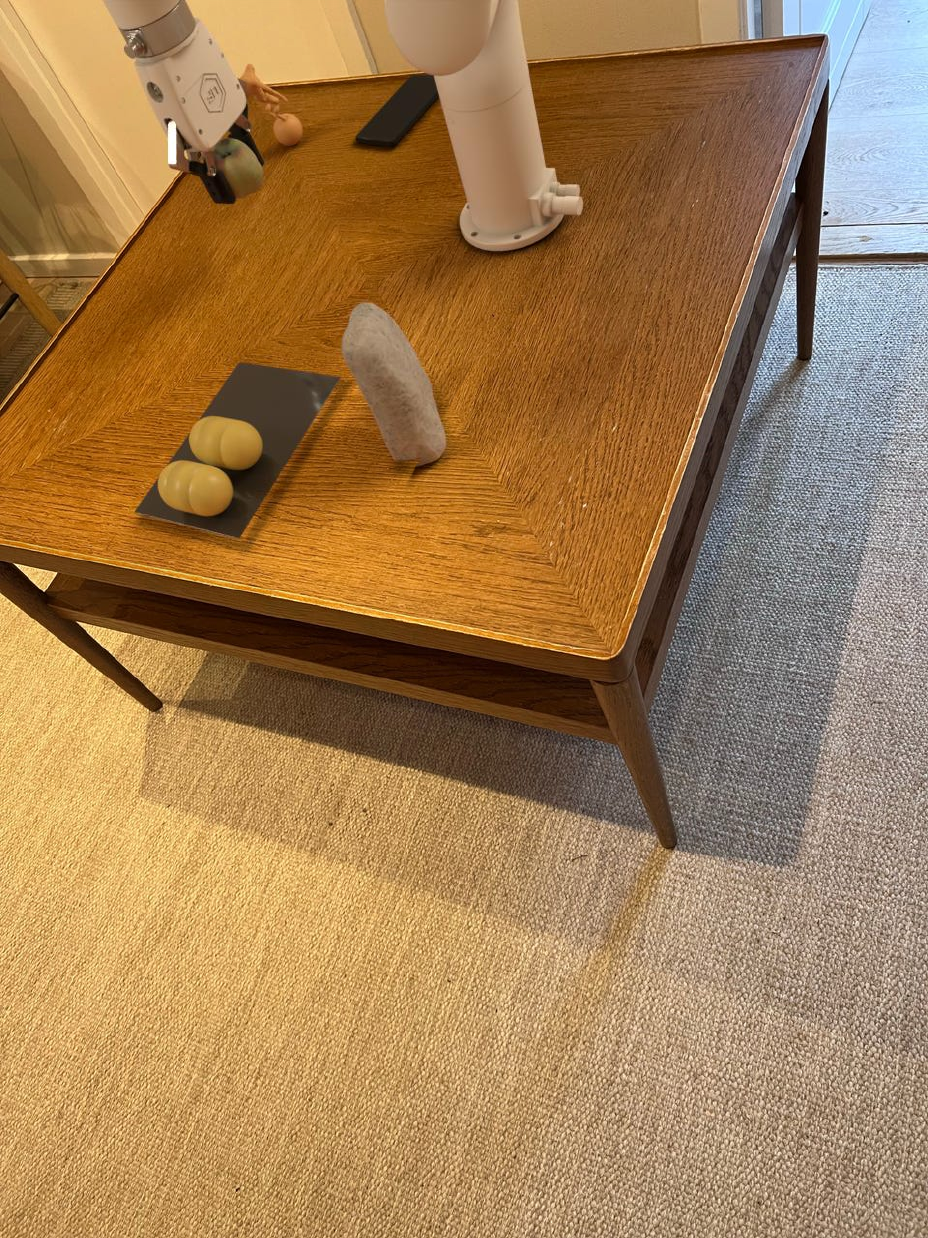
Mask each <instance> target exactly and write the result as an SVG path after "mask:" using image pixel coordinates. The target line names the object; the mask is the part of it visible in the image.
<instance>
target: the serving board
mask: <svg viewBox="0 0 928 1238" xmlns="http://www.w3.org/2000/svg"><path fill="white" fill-rule="evenodd" d="M341 379H342V377H341V376H337V375H330V374H323V373H317V372H316V373H315V372H309V371H302V370H296V369H289V368H283V367H277V366H269V365H264V364H263V365H262V364H255V363H250V362H241V361H238V363H237V364H236V366H235V368H233V370H232V372H231V373H230V374H229V376H228V377H227V379H226V380H225V381H224V383H223V385H222V386H221V387H220V388H219V390H218V392H217V393H216V394H215V396H214V397H213V398H212V400H211V401H210V403H209V405H208V406H207V408H206V409H204V411H203V413H202V414H201V415H200V417H199V419H198V420H197V422H198V421H199V420H201V419H203V418H205V417H209V416H218V417H224V418H229V419H235V420H240V421H244V422H246V423H249V424H250V425H252V426H253V427H254V428H255V429H256V430H257V431H258V433H259V435H260V437H261V439H262V453H261V456H260V458H259V460H258V461H257V462H256V463H255V464H254V465H253V466H252V467H250V468H248V469H245V470H232V469H227V468H222V467H218V466H213V465H210V466H213V467H216V468H219V469H220V470H222V471H223V472H224V473H225V474H226V475H227V476H228V477H229V479H230V481H231V483H232V487H233V496H232V500H231V503H230V504H229V506H228V507H227V508H226V509H225V510H224V511H223V512H221V513H220V514H217V515H214V516H201V515H197V514H193V513H189V512H185V511H181V510H177V509H174V508H172V507H170V506H169V505H168V504H166V503H165V502H164V500H163V499H162V498H161V496H160V493H159V490H158V479H159V476H158V477H157V478H156V480H155V482H154V483H153V484H152V485H151V487H150V489H149V490H148V492H147V493H146V495H145V496H144V497H143V499H142V500H141V502H140V503H139V504H138V506H137V507H136V508H135V510H134V511H133V513H134V514H139V515H142V516H147V517H151V518H153V519H158V520H162V521H166V522H170V523H175V524H178V525H182V526H187V527H190V528H194V529H198V530H202V531H206V532H210V533H214V534H217V535H222V536H226V537H230V538H234V539H238V540H239V539H240V538H241V537H242V536H243V533H244V532H245V530H246V529H247V528H248V526H249V524H250V522H251V521H252V519H253V518H254V516H255V514H256V513H257V512H258V510H259V508H260V507H261V505H262V503H263V502H264V500H265V498H266V497H267V495H268V494H269V492H270V491H271V489H272V488H273V486H274V484H275V483H276V481H277V479H278V478H279V476H280V475H281V473H282V471H283V470H284V469H285V467H286V466H287V464H288V462H289V460H290V459H291V457H292V456H293V454H294V453H295V451H296V449H297V448H298V447H299V445H300V443H301V442H302V440H303V438H304V437H305V435H306V434H307V432H308V431H309V429H310V427H311V426H312V425H313V422H314V421H315V419H316V418H317V416H318V415H319V413H320V412H321V410H322V409H323V407H324V405H325V404H326V402H327V400H328V399H329V397H330V396H331V394H332V393H333V391H334V390H335V388H336V386H337V384H338V383H339V382H340V380H341ZM189 436H190V432H189V433H188V435H187V436H186V437H185V439H184V440H183V442H182V443H181V444H180V446H179V447H178V449H177V450H176V451H175V453H174V455H173V456H172V457H171V458H170V460H169V462H167V464H166V466H167V465H169V464H171V463H173V462H175V461H180V460H183V461H191V462H196V463H200V464H205V465H209V464H206V463H204V462H202V461H201V460H199V459H198V458H197V457H196V456H195V455H194V453H193V452H192V450H191V447H190V443H189Z"/></svg>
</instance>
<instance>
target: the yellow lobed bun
mask: <svg viewBox="0 0 928 1238" xmlns="http://www.w3.org/2000/svg"><path fill="white" fill-rule="evenodd" d="M198 420H199V419H198ZM198 420H197V421H196V422H195V424H194V425H193V426H192V428H191V429H190V431H189V433H190V436H189V443H190V447H191V450H192V452H193V453H194V455H195V456H196V457H197V458H198V459H199V460H201V461H202V462H204V463H206V464H209V465H213V466H218V467H222V468H227V469H232V470H245V469H248V468H250V467H252V466H253V465H254V464H255V463H256V462H257V461H258V460H259V458H260V456H261V453H262V439H261V437H260V435H259V433H258V431H257V430H256V429H255V428H254V427H253V426H252V425H250V424H249V423H246V422H244V421H240V420H235V419H229V418H224V417H218V416H209V417H205V418H203V419H201V420H199V421H198Z"/></svg>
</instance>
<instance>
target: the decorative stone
mask: <svg viewBox="0 0 928 1238" xmlns="http://www.w3.org/2000/svg"><path fill="white" fill-rule="evenodd" d="M341 355H342V358H343V360H344V362H345V364H346V366H347V367H348V369H349V370H350V372H351V374H352V376H353V378H354V381H355V383H356V385H357V387H358V389H359V391H360V393H361V395H362V396H363V398H364V400H365V402H366V403H367V405H368V407H369V409H370V411H371V413H372V415H373V417H374V420H375V422H376V424H377V426H378V429H379V432H380V434H381V436H382V439H383V442H384V443H385V446H386V448H387V450H388V452H389V453H390V455H391V457H392V459H393V460H394V461H396V462H397V461H398V462H399V461H408V460H416V459H419V460H418V461H417V463H416V465H415V468H417V467H420V466H424V465H427V464H431V463H433V462H435V461H437V460H438V459H440V457H441V456H442V455H443V454H444V452H445V451H446V449H447V437H446V432H445V428H444V425H443V423H442V421H441V417H440V414H439V411H438V407H437V403H436V401H435V397H434V391H433V386H432V383H431V380H430V377H429V375H427V373H426V371H425V369H424V367H423V365H422V364H421V362H420V360H419V357H418V356H417V353H416V351H415V350H414V348H413V346H412V344H411V342H410V341H409V339H408V338H407V337H406V334H405V333H404V332H403V331H402V329H401V328H400V326H399V324H398V323H397V322H396V321H395V319H394V318H393V317H392V316H391V315H390V314H389V313H387V312H386V311H385V310H384V309H382V308H381V307H379V306H378V305H376V304H375V303H373V302H361V303H359V304H357V305H355V306H354V307H353V308H352V310H351V313H350V315H349V319H348V323H347V327H346V329H345V330H344V333H343V335H342V340H341Z"/></svg>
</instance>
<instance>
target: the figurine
mask: <svg viewBox="0 0 928 1238" xmlns="http://www.w3.org/2000/svg"><path fill="white" fill-rule="evenodd" d="M239 79H241V80H243V81H245V82H246V84H247V95H251V96H253V98H254V99H255V100H256V101H258V102H259V103H264V104H266V105H265V111H266V112H267V115H268V116H269V117H271V118H273V119H274V120H275V121H274V123H273V134H274V137H275V138H276V140H277V141H278V142H279V143H280V144H282V145H284V146H288V147H290V146H295V145H296V144H298V143H299V142H300V140H301V139H302V137H303V125H302V123H301V121H300V119H299V117H297V116H295V114H293V113H288V112H286V113H281V114H280V113H279V112H280V99H279V98H281V99H282V100H283V101H285V102H286V103H287V104H289V103H290V101H289V99H288V98H286V96H285V95H283V94H281V93H280V92H278V91H276V90H274V89H272V88H271V87H269V86H268V85H267V84H265V83H264V82H261V80H260V78H259V77H258V76H257V75H256V69H255V67H254V65H253V64H251V63H247V65H246V67H245V70H244V72H243V74H242V75H241V76H240V77H239ZM264 91H267V92H264ZM268 92H269V93H268ZM271 105H275V106H274V108H273V112H271V111H272V107H271Z"/></svg>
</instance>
